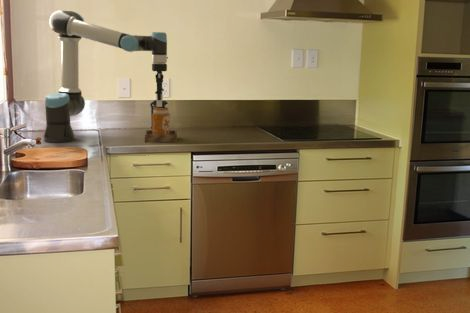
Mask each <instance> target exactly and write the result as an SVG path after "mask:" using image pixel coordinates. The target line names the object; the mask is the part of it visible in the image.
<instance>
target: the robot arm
mask: <svg viewBox="0 0 470 313" xmlns="http://www.w3.org/2000/svg"><path fill="white" fill-rule="evenodd" d="M49 27H50V28H51V30H52V31H54V32H55V33H56V34H57V37H58V39H59V41H60V44H61V45H60V51H61V52H60V54H61V55H60V56H61V57H60V58H61V62H60V63H61V67H60V68H61V88H60V89H58V92H55V93H50V94H47V95H46V96H45V98H44V100H45V102H44V106H45V118H46V119H45V120H46V121H45V122H46V127H45V131H44V133H43V141H44V142H47V143H66V142H73V141H74V140H75V138H76V137H75V134H74V131H73V128H72V125H71V117H74V116H77V115H79V114H80V113H82V112H83V110H84V109H85V105H86V101H85V98H84V97H83V96H82V90H81V88H80V87H79V85H80V84H79V83H80V82H79V81H80V80H79V42H80V41H81V39H82V38H83V39H87V40H91V41H94V42H97V43H101V44H103V45H104V44H105V45H108V46H110V47H111V46H112V47H115V48H119V49H122V50H123V51H125V52H129V53H133V52H151V62H152V64H151V71H152V72H156V74H155V83H156V90H155V92H154V93H155V94H156V101H157V107H162V101H164V100H163V96H164V95H163V92H164V91H165V89H164V88H163V83H164V74H163V72H167V71H168V64H167V63H168V61H167V60H168V59H169V57H168V39H167V38H168V37H167V33H166V32H163V31H162V32H160V31H155V32H154V31H152V32H151V35H134V34H133V35H132V34H129V33H125V32H121V31H118V30H113V29H110V28H107V27H105V26H104V27H103V26H101V25H97V24H95V23H89V22H86V21H85V20H84V18H83V16H82V15H81V14H80V13H78V12H76V11H71V10H69V11H68V10H61V9H60V10H56V11H54V12H52V14H51V15H50V17H49Z"/></svg>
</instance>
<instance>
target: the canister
mask: <svg viewBox="0 0 470 313" xmlns="http://www.w3.org/2000/svg"><path fill="white" fill-rule="evenodd" d="M168 103H169V102H168V101H167V100H163V101H162V107H157V99H155V100H154V101H152V102H150V104H149V105H150V111H151V112H150V113H151V116H150V117H151V127H150V130H153V135H160V134H170V130H171V116H170V115H171V114H170V113H169V112H170V111H169V110H170V109H169V107H166V105H168Z"/></svg>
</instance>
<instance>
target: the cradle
mask: <svg viewBox="0 0 470 313" xmlns="http://www.w3.org/2000/svg"><path fill="white" fill-rule="evenodd" d="M177 132H178V131H177V130H176V129H175V130H174V129H170V134H160V135H153V130H152V129H150V130H149V129H147V130H146V132H145V134H144V136H145V137H144V139H145V140H144V142H145V143H146V144H147V142H170V143H173V144H174V143H175V144H176V143H177V141H178V138H177V136H178V135H177Z"/></svg>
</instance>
